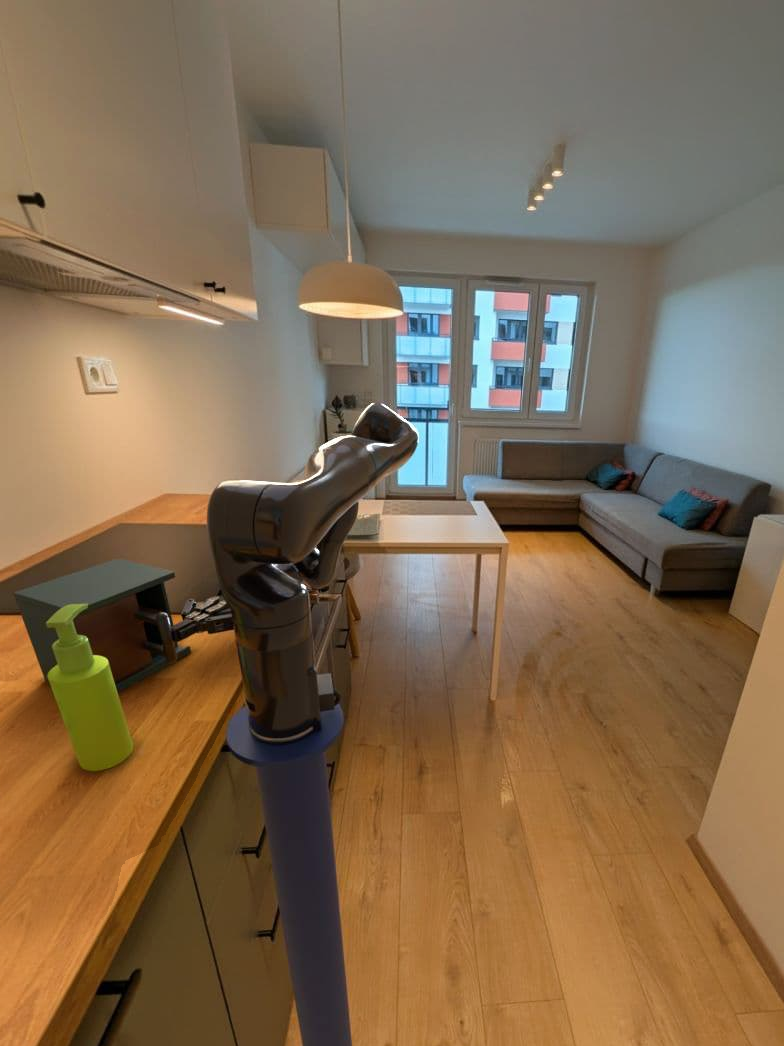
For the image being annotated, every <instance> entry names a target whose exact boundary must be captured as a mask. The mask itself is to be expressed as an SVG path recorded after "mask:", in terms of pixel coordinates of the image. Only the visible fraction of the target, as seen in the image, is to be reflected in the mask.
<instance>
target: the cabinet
mask: <svg viewBox="0 0 784 1046" xmlns="http://www.w3.org/2000/svg"><path fill="white" fill-rule="evenodd" d="M175 578H176V574H175V571H171V570H169V569H168V570H167V569H164V568H160V567H155V566H153V565H146V564H143V563H139V562H135V561H131V560H127V559H124V558H115V559H113V560H109V561H106V562H102V563H100V564H97V565H93V566H90V567H88V568H84V569H82V570H78V571H76V572H73V573H68V574H66V575H64V576H60V577H57V578H53V579H51V580H47V581H44V582H42V583H39V584H35V585H32V586H29V587H26V588H23V589H20V590H17V591H14V592H13V597H14V599H15V602H16V605H17V607H18V610H19V613H20V616H21V618H22V621H23V624H24V627H25V629H26V632H27V634H28V638H29V640H30V643H31V646H32V648H33V649H32V650H33V652H34V654H35V657H36V659H37V662H38V664H39V667H40V671H41V673H42V676H43V678H44V681H46V682H49V680H48V673H49V671H50V670H51V669H52V668H53V667H55V666H56V665H58V663H57V660H56V658H55V655H54V652H53V649H52V645H53V643H54V642H56V641H57V640H58V639H59V637H58V634H57V631H56V629H55V627H50V628H47V626H46V622H47V621H48V620H49V619H50V618H51V617H52V616H53V615H54V614H55V613H56V612H57V611H58V610H60V609H61V608H63V607H65V606H67V605H70V604H88V608H87V609H84V610H83V611H81V612H80V613H79V614H78V615H77V616H80V615H82V614H85V613H87V612H90V611H92V610H95V609H97V608H100V607H102V606H105V605H107V604H110V603H112V602H115V601H117V600H120V599H122V598H125V597H127V596H130V595H133V594H135V595H136V599H137V603H138V607H139V611H142V612H146V613H149V614H152V615H157V614H158V613H161V612H164V613H166V614H167V615H168V618H169V623H170V627H171V626H173V625H174V621H173V617H172V612H171V608H170V604H169V599H168V594H167V590H166V586H165V585H166V584H165V582H168V581H171V580H172V579H175ZM77 616H76V617H77ZM142 623H143V627H144V631H145V635H146V638H147V641H148V642H151V643H154V644H157V645H160V646H162V642H161V638H160V633H159V629H158V625H154V624H151V623H148V622H144V621H142ZM178 643H179V642H176V641H174V645H175V649H176V653H177V660H176V661H179V660H180V659H181V658H183V657H186V656H187V655H189V654H191V653H192V649H191V646H190V645H186V646H184V647H183V646H180V645H179V644H178ZM150 654H151V658H152V662H153V665H151V666H149V667H147V668H145V669H144V670H142V671H140V672H138V673H136V674H134V675H132V676H131V677H129V678H127V679H125V680H123V681H121V682H120V683H118V684H116V685H115V686H116V689H117V693H118V694H119V693H121V692H123V691H125V690H126V689H128V688H130V687H132V686H134V685H136V684H137V683H139V682H141V681H142V680H145V679H147V678H148V677H150V676H151V675H153V674H155V673H157V672H159V671H160V670H162V669H163V668H165V667H167V666H169V665H172V663H169V662H167V661H166V658H165V656H163V655H160V654H157V653H153V652H150ZM49 683H50V682H49Z"/></svg>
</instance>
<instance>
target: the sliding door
mask: <svg viewBox="0 0 784 1046" xmlns="http://www.w3.org/2000/svg"><path fill="white" fill-rule="evenodd" d="M142 621H144V622H148V623H151V624H154V625H158V629H159V633H160V638H161V642H162V646H160V645H157V644H154V643H151V642H148V641H147V638H146V635H145V631H144V627H143V623H142ZM73 623H74V627H75V630H76V633H77V635H83V636H86V637H87V638H88V641H89V644H90V647H91V651H92V654H93V655H98V656H103V657H105V658H106V659H107V660H108V662H109V666H110V669H111V672H112V676H113V679H114V683H115V685H116V684H118V683H120V682H121V681H123V680H125V679H127V678H129V677H131V676H132V675H134V674H136V673H138V672H140V671H142V670H144V669H145V668H147V667H149V666H151V665H153V662H152V658H151V654H150V652H153V653H157V654H160V655H163V656H165V658H166V661H167V662H169V663H171V664H174V663H175V662H177V661H178V660H177V653H176V649H175V645H174V640H173V636H172V631H171V627H170V623H169V618H168V615H167V614H166V613H164V612H161V613H158V614H157V615H152V614H149V613H146V612H142V611H139V607H138V603H137V599H136V595H135V594H133V595H130V596H127V597H125V598H122V599H120V600H117V601H115V602H112V603H110V604H107V605H105V606H102V607H100V608H97V609H95V610H92V611H90V612H87V613H85V614H82V615H80V616H77V617H75V618H74V619H73Z"/></svg>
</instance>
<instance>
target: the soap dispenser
mask: <svg viewBox="0 0 784 1046" xmlns="http://www.w3.org/2000/svg"><path fill="white" fill-rule="evenodd" d="M87 608H88V604H70V605H67V606H65V607H63V608H61V609H60V610H58V611H57V612H56V613H55V614H54V615H53V616H52V617H51V618H50V619H49V620H48V621H47V622H46V626H47V628H50V627H55V629H56V631H57V634H58V637H59V639H58V640H57V641H56V642H54V643H53V645H52V649H53V652H54V655H55V658H56V660H57V663H58V665H56V666H55V667H53V668H52V669H51V670H50V671H49V673H48V680H49V686H50V688H51V691H52V693H53V696H54V699H55V702H56V704H57V707H58V710H59V712H60V716H61V718H62V721H63V724H64V726H65V729H66V732H67V734H68V737H69V741H70V743H71V746H72V748H73V752H74V754H75V756H76V760H77V762H78V765H79V767H80V768H81V769H82V770H84V771H89V772H99V771H104V770H108V769H111V768H113V767H115V766H117V765H120V764H121V763H123V762H124V761H125V760H127V758H129V757H130V755H131V754H132V753H133V752H134V751H133V750H134V744H133V740H132V736H131V733H130V729H129V726H128V723H127V720H126V716H125V713H124V709H123V706H122V703H121V700H120V696H119V693H117V689H116V686H115V683H114V679H113V676H112V672H111V669H110V666H109V662H108V660H107V659H106V658H105V657H103V656H98V655H93V654H92V651H91V647H90V644H89V641H88V638H87V637H86V636H83V635H77V633H76V630H75V627H74V623H73V619H74V618H75V617H76V616H77V615H78V614H79V613H80V612H81V611H83V610H84V609H87Z"/></svg>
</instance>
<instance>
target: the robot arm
mask: <svg viewBox="0 0 784 1046" xmlns="http://www.w3.org/2000/svg"><path fill="white" fill-rule="evenodd" d="M418 446H419V432H418V430H417V428H415V427H414V426H413V424H412V423H410V422H409V421H407V420H406V419H404V418H403V417H402V416H400V415H399V414H397V413H396V412H395V411H393V410H392V409H390V408H389V407H388V406H386V405H385V404H383V403H381V402H377V401H376V402H373V403H371V404H370V405H368V406H367V407H366V408H365V409H364V411H363V412H362V413H361V415H360V416H359V417H358V420H357V421H356V423H355V424H354V427H353V430H352V432H351V434H350V435H346V436H345V435H344V436H339V437H337V438H333V439H332V440H330V441H328V442H326V443H325V444H322V445H321V446H319V447H317V448H316V449H315V450H314V451H313V452H312V453H311V454H310V455H309V456H308V458H307V460H306V463H305V465H304V472H303V475H304V476H303V477H304V480H302V481H300V482H292V483H290V482H288V483H287V482H274V481H264V480H263V481H262V480H253V479H252V480H251V479H239V478H233V479H227V480H226V479H225V480H224V481H221V482H219V483H218V484H217V485H216V486H215V487H214V489H213V490H212V492H211V494H210V497H209V498H208V503H207V507H206V528H207V536H208V542H209V547H210V551H211V555H212V559H213V563H214V567H215V571H216V576H217V580H218V585H219V591H218V592H217V594H216V595H215V596H211V597H208V598H205V599H204V600H203V601H199V602H197V601H196V600H195V598H188V599H186V601H185V603H184V605H183V607H182V609H181V611H180V615H181V621H179V622H177V623H175V624H173V626H171V631H172V636H173V640H174V641H176V642H177V643H180V642H182V641H184V640H186V639H187V638H190V636H193V635H195V634H203V633H205V632H207V634H208V635H213V634H219V633H224V632H229V631H233V632H234V638H235V644H236V645H235V646H236V650H237V657H238V661H239V662H238V663H239V668H240V674H241V681H242V686H243V692H244V693H243V694H242V697H243V702H244V706H245V705H246V708H247V710H248V719H249V727H250V732H251V734H252V736H253V737H254V738H255V739H256V740H258V741H259V742H262V743H265V744H269V745H285V744H291V743H294V742H297V741H300V740H302V739H304V738H306V737H308V736H309V735H311V734H312V733H314V732H319V731H321V730H322V726H321V712H322V711H329V710H335V706H336V705H337V704H340V702H341V699H342V695H341V693H340V692H339V691H338V690H336V689H335V688H334V687H333V681H332V674H331V673H330V672H328V673H322V674H317V665H316V664H317V663H316V653H315V645H314V644H315V643H314V636H313V634H314V633H313V625H312V614H311V613H312V612H311V600H310V599H311V598H310V593H309V590H308V588H307V587H309V588H311V589H312V590H321V589H324V588H325V587H327V586H329V584H330V583H331V582H332V580H333V579H334V577H335V574H336V571H337V567H338V563H339V558H340V555H341V550H342V547H343V544H344V543H345V541H346V539H347V538H348V536H349V534H350V533H351V530H352V529H353V527H354V525H355V523H356V521H357V518H358V514H359V506H360V505H359V502H360V501H361V500H362V499H363V498H364V497H365V496H366V495H367V494H368V493H370V492H371V491H372V490H373V489H374V488H375V487H376V486H377V485H378V483H380V482H381V481H382V480H383V479H384V478H387V477H389V476H390V475H392V474H393V473H395V472H397V471H398V470H400V469H401V468H402V467H404V466H405V465H406V464H407V462H408V461H410V459H411V458H412V457H413V455H414V454H415V452H416V450H417V448H418Z"/></svg>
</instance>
